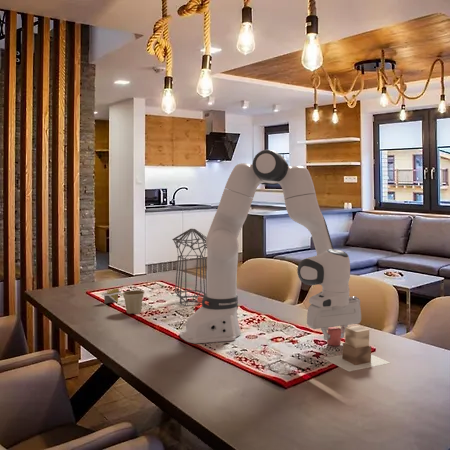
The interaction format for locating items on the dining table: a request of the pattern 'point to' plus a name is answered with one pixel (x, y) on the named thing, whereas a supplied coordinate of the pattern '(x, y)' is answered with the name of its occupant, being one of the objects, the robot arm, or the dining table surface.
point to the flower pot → (133, 301)
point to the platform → (111, 295)
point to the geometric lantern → (192, 258)
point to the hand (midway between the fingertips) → (333, 338)
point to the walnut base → (356, 354)
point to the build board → (351, 367)
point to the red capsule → (334, 336)
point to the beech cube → (357, 336)
